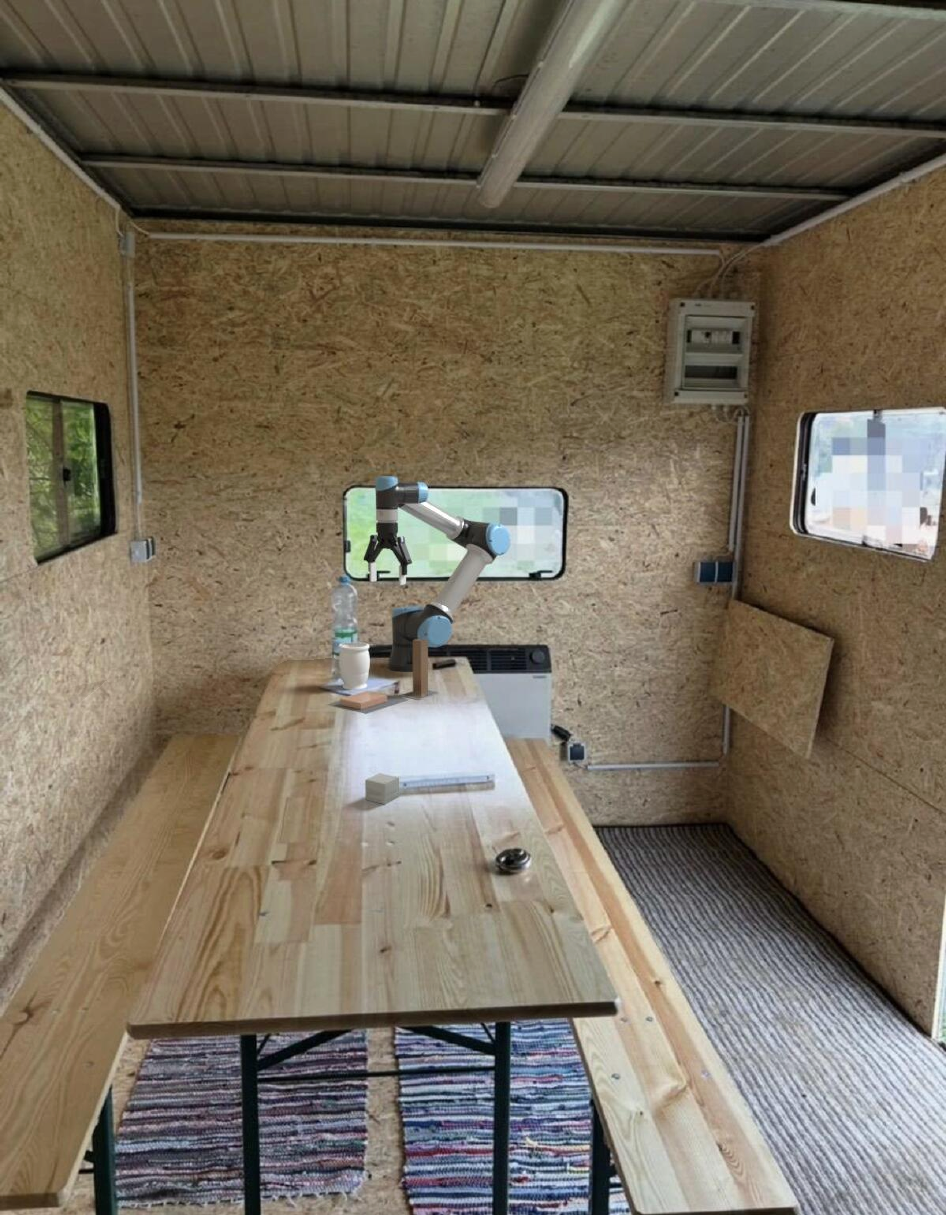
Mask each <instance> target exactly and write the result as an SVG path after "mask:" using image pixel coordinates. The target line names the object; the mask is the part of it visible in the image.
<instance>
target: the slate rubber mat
mask: <svg viewBox="0 0 946 1215" xmlns="http://www.w3.org/2000/svg"><path fill="white" fill-rule="evenodd" d="M378 694H380V693H379V692H378ZM383 695H385V694H384V693H383ZM386 695H387V702H384V703H380V704H377V705H374V706H371V707H368V708H365V709H361V710H360V709H356V708H352V707H347V706H343V705H340V700H337V701H335V702H332V703H331V702H330V703H327V704H326V706H331V707H334V708H335V707H336V708H339V709H344V710H349V711H352V712H353V711H354V712H357V713H361V714H366V715H367V714H369V713H374V712H376V711H378V710H379V711H380V710H382V709H385V708H389V707H392V706H395V705H398V704H401V703H404V702H407V701H409V698H407V699H406V698H404V697H403V698H402V697H397V696H393V695H389V694H386Z"/></svg>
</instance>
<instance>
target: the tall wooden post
mask: <svg viewBox="0 0 946 1215" xmlns="http://www.w3.org/2000/svg"><path fill="white" fill-rule="evenodd" d="M437 695H440V692H439V691H435V690H429V647H428V640H427V639H420V638H419V639H415V640H413V671H412V691H409V692H406V693H402V694H401V695H400V696H401V698H402V697H403V698H407V699H412V700H417V701H422V700H424V699H425V700H426V699H428V698H431V697H435V696H437Z"/></svg>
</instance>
